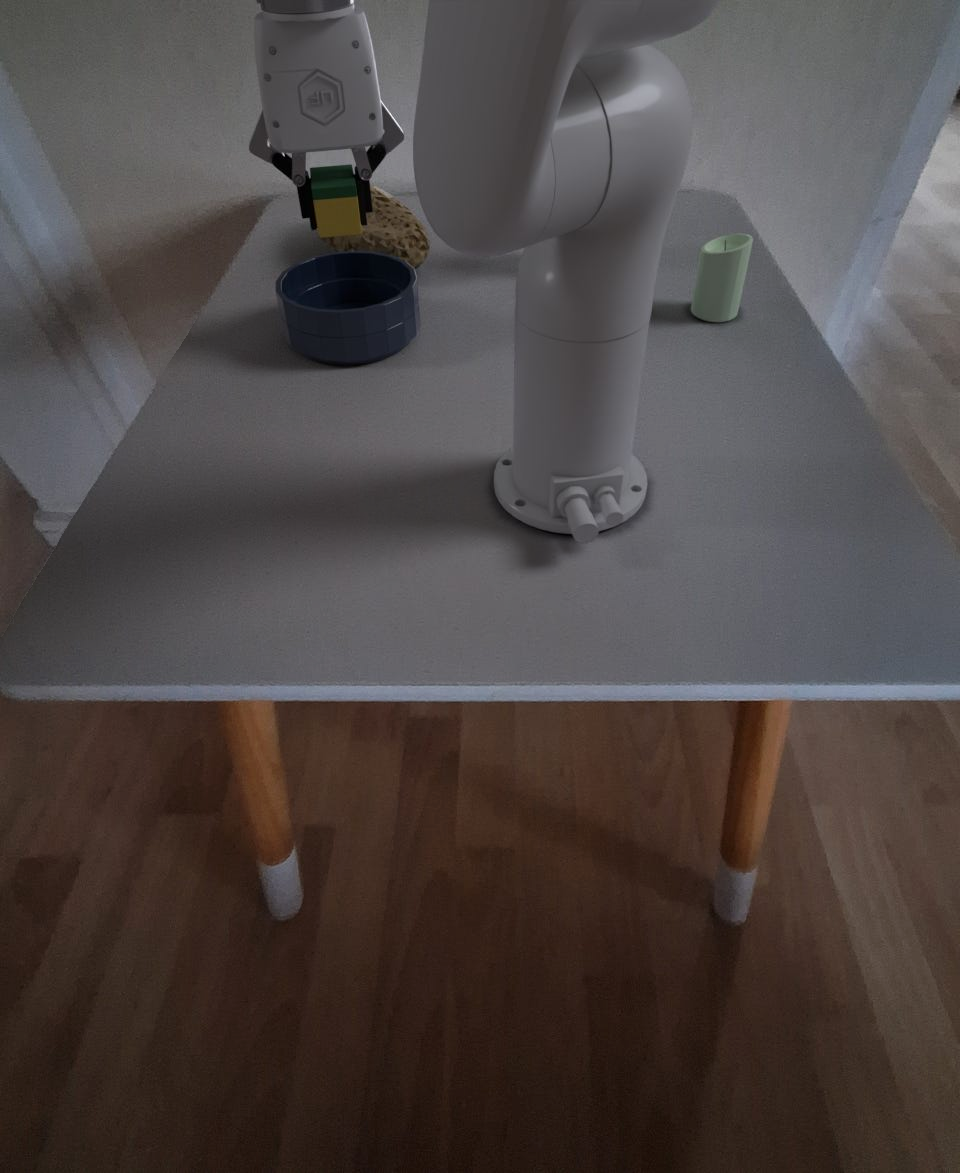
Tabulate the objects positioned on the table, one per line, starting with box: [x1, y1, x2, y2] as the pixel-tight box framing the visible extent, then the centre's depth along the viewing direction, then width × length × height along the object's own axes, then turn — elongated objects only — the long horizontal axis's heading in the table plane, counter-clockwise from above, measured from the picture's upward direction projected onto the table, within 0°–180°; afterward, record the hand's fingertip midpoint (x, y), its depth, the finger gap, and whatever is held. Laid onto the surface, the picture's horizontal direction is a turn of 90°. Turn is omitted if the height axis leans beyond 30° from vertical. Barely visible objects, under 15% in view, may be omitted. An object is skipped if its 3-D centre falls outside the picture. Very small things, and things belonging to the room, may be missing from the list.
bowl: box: [275, 250, 421, 366], centre depth 87 cm, size 14×14×6 cm
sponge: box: [321, 184, 431, 270], centre depth 102 cm, size 13×8×20 cm
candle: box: [690, 233, 754, 323], centre depth 89 cm, size 5×5×8 cm
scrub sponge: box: [309, 163, 362, 239], centre depth 79 cm, size 6×4×4 cm, turn 10°
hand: (338, 220), depth 81 cm, fingers closed on scrub sponge, 4 cm apart
